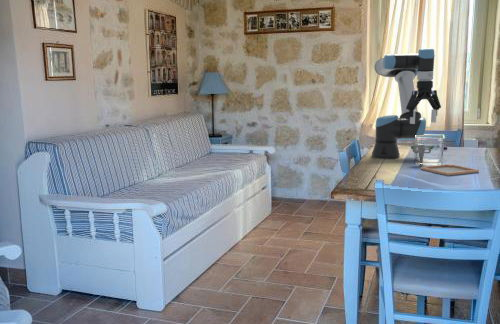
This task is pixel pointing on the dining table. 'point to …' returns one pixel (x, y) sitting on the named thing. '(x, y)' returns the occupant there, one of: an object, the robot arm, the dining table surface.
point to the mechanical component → (421, 151)
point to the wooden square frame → (449, 169)
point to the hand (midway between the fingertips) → (423, 123)
